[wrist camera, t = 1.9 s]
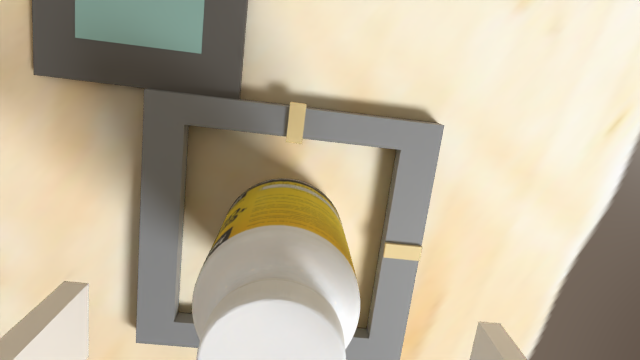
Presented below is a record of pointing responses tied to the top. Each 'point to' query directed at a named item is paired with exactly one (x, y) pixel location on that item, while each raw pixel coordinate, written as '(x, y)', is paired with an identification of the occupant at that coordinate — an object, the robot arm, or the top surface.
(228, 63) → the mat
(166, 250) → the socket plate
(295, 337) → the pill bottle
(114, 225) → the top surface
